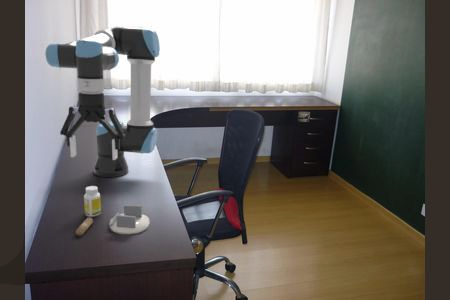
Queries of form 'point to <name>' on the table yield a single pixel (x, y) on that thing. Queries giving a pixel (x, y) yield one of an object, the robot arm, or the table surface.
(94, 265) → the table surface
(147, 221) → the jar holder
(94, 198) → the supplement bottle
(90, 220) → the wick dowel
